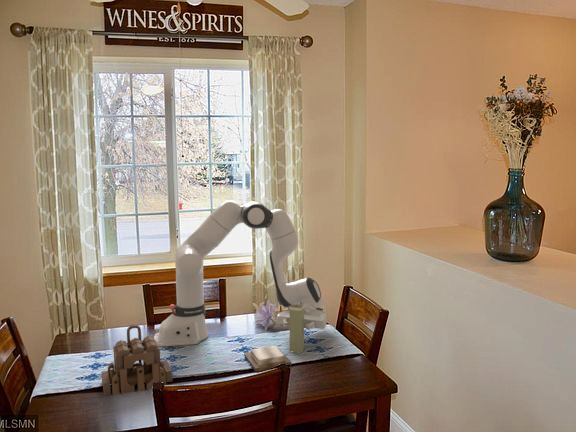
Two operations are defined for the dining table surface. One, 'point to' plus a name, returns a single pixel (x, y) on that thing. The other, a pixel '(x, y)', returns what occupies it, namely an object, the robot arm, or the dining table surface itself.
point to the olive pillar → (296, 327)
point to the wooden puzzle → (135, 366)
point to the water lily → (265, 314)
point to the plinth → (266, 366)
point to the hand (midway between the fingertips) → (296, 326)
